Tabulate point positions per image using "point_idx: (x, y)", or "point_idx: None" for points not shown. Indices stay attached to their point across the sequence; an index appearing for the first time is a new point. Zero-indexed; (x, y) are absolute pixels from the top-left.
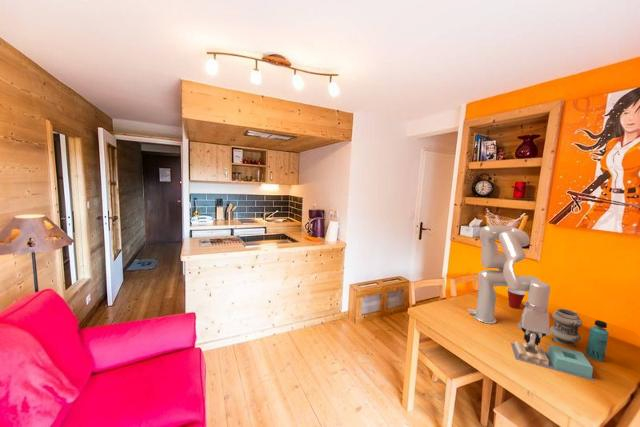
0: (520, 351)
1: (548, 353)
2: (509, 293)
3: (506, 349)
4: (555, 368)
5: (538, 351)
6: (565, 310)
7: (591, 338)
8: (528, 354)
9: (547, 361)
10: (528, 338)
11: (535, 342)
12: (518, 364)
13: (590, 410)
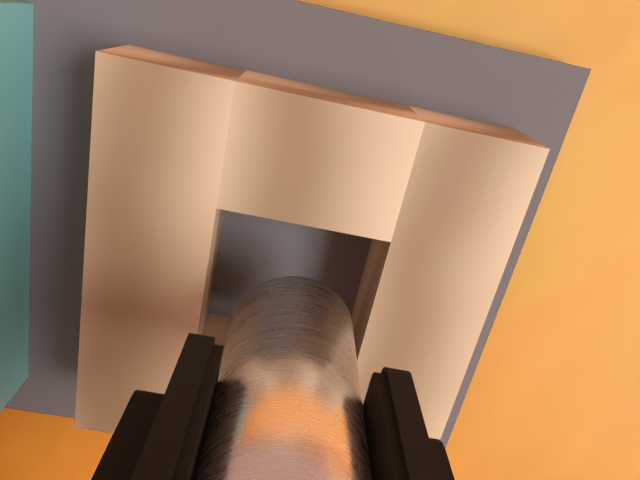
0: (498, 210)
1: (19, 369)
2: None
3: (526, 344)
4: (33, 4)
5: (173, 312)
6: None
7: None
8: (398, 153)
9: (120, 55)
10: (398, 450)
11: (228, 391)
12: (550, 11)
13: None
